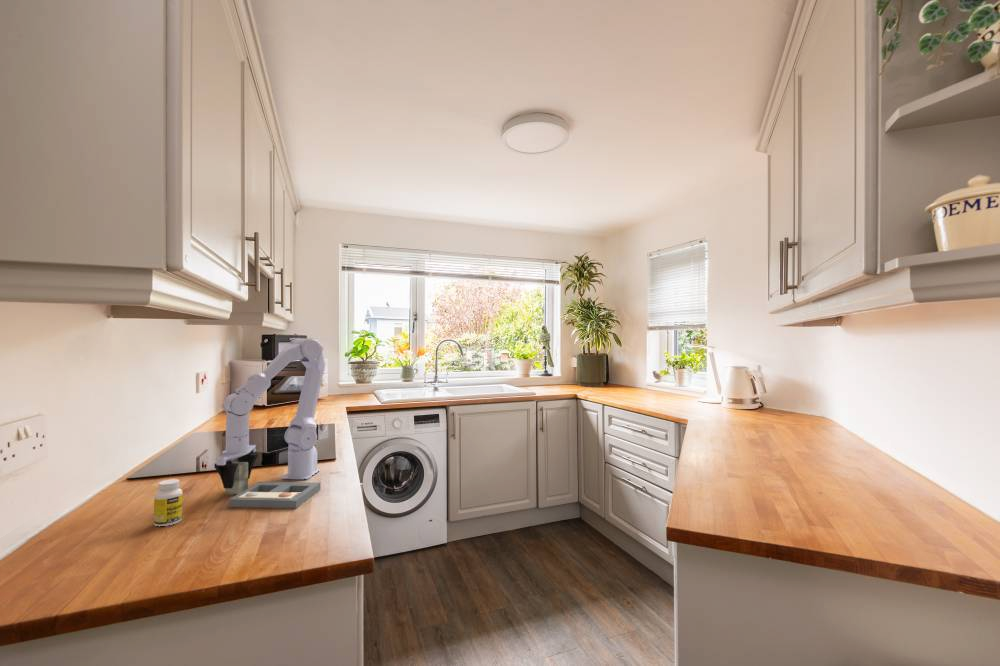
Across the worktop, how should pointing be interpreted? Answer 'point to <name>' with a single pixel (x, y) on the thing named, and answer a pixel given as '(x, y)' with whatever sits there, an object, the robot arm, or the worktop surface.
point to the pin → (239, 479)
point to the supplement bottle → (168, 503)
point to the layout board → (275, 495)
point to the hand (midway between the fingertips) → (236, 483)
